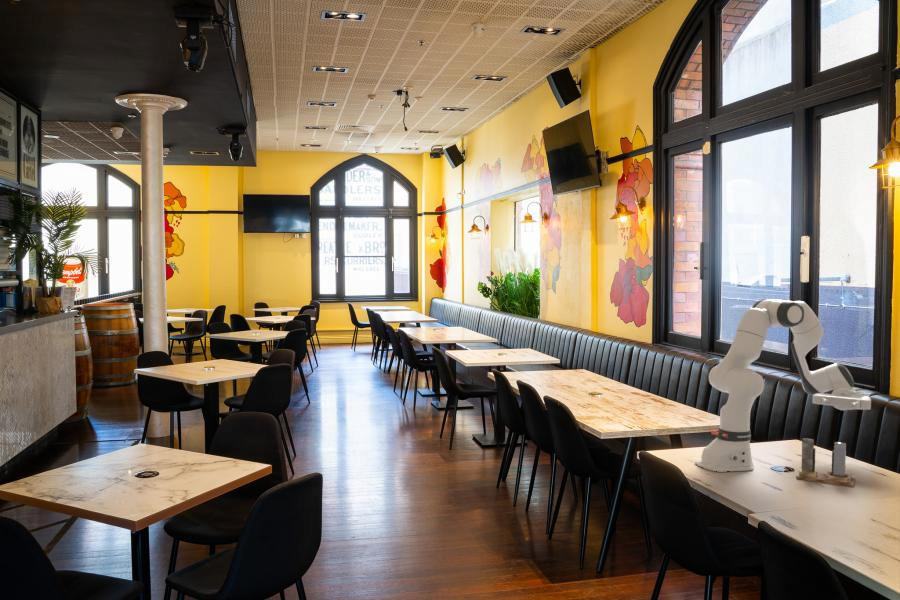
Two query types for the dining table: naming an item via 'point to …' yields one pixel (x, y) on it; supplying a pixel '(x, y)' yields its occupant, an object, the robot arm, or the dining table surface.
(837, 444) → the grey tall block
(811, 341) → the robot arm
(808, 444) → the twin post stand
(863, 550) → the dining table surface
